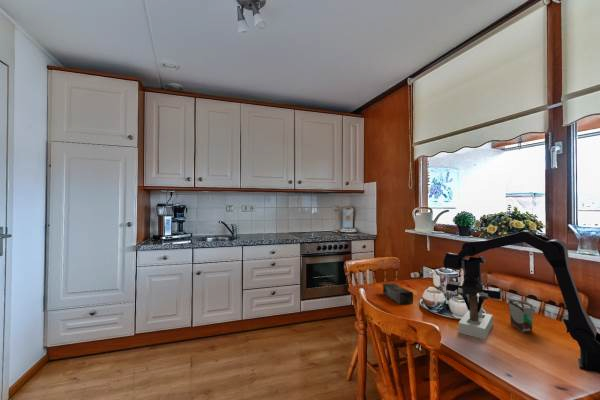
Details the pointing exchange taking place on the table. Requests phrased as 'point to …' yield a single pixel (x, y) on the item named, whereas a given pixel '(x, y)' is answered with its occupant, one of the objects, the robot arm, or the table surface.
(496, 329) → the table surface
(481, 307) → the grey peg
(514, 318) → the food container
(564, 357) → the table surface
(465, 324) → the hole block
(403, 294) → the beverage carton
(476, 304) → the walnut peg
